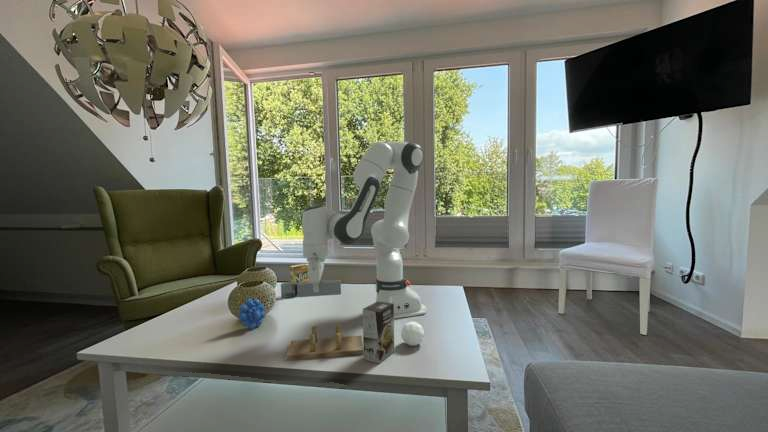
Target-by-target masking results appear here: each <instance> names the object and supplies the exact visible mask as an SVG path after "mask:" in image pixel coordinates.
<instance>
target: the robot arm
mask: <svg viewBox="0 0 768 432" xmlns="http://www.w3.org/2000/svg"><path fill="white" fill-rule="evenodd" d="M423 161H424V151H423V148H422V147H421V145H419V144H417V143H414V142H408V141H401V140H399V141H388V140H387V141H375V142H373V143H372V144H371V145H370V146H369V147H368V149H367V150H366V151H365V152H364V154H362V157H361V158H360V160H359V161H358V163H357V165H356V167H355V169H354V172H353V175H352V176H353V181H354V183H355V184H356V186H357V187H358V194H357V195H356V198H355V200H354V202H353V205H352V206H351V208H350V210H349V211H348V212H346V213H344V214H343V213H339V212H338V211H337V212H336V211H334V210H332V209H330V208H328V207H327V206H326V205H324V204H314V205H310V206H307V207H306V208H304V210H303V212H302V218H301V219H302V220H301V231H302V235H303V240H302V257H303V258H305V259H306V262H308V263H307V264H308V281H309V284H313V289H314V292H319V283H320V281H321V279H322V276H323V272H324V269H325V261H326V257H328V256H329V254H330V253H329V241H330V240H331V239H332V240H336V241H338V242H341V243H342V244H345V245H354V244H356V243H357V242H359V241H360V240H361V239H362V237H363V235H364V233H365V229H366V223H367V219H368V217H369V214H370V211H371V210H372V208H373V205H374V203H375V201H376V198H377V197H378V194H379V192H380V188H381V187H380V185H381V183H382V181H383V179H384V177H385V176H386V174H387V172H388V169H393V175H392V177H391V181H390V183H389V186H388V190H387V194H386V197H385V200H384V203H383V204H384V214H383V219H379V220H378V221H375V222H374V223H373V224H372V226H371V228H370V233H371V237H372V243H373V248H374V249H373V250H374V254H375V261H376V278H375V291H376V298H375V302H377V301H379V302H386V303H392V304H394V320H395V319H401V318H409V317H414V316H415V317H416V316H421V315H422V314H423V315H426V314H427V307H426V305H425V304H423V303H422V301H421V297H420V296H419V294H418V293H417V292H416V291H415V290H413V289H412V288H410V285H411V282H410V281H409V280H408V279H407V278H406V277H404V276H403V275H404V270H403V269H404V268H403V266H404V265H403V258H402V255H401V253H400V249H402V248H404V247H405V246H406V245H407V244H408V242H409V239H410V233H409V218H410V210H411V206H412V204H413V200H414V197H415V193H416V189H417V183H418V178H419V172H418V170H419V169H420V167H421V165H422V163H423ZM425 313H426V314H425Z"/></svg>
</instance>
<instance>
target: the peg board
mask: <svg viewBox="0 0 768 432" xmlns="http://www.w3.org/2000/svg"><path fill="white" fill-rule="evenodd" d="M334 327H335V335H334V336H335V337H325V338H323V337H322V338H317V337H318V333H317V326H316V325H313V326H311V334H310V335H309V339H294V340H290V344H289V347H288V349H287V352H286V356H285V357H286V361H294V360H295V361H297V360H308V359H322V358H324V359H325V358H331V357H332V358H334V357H346V356H357V355H358V356H360V355H363V335H352V336H342V335H341V324H336V325H335V326H334Z"/></svg>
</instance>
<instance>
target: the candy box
mask: <svg viewBox="0 0 768 432" xmlns="http://www.w3.org/2000/svg"><path fill="white" fill-rule="evenodd" d="M289 273H290V274H289V276H290V282H297V284H298V282H307V281H308V263H301V264H300V263H299V264H294V265H289Z"/></svg>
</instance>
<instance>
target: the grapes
mask: <svg viewBox="0 0 768 432" xmlns="http://www.w3.org/2000/svg"><path fill="white" fill-rule="evenodd" d="M239 310H240V312H239V313H238V319H239V320H241V325H242V327H244V328H246V327H248V328H249V329H250V330H252V329H256V327H257V326H261V325H262V324H263V320H262V319H265V317H266V312H265V305H264V303H261V302H260V300H259V298H254V299H253V300H252V299H251V298H247V299H245V301H244V303H243V304H241V305H240V306H239Z"/></svg>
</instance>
